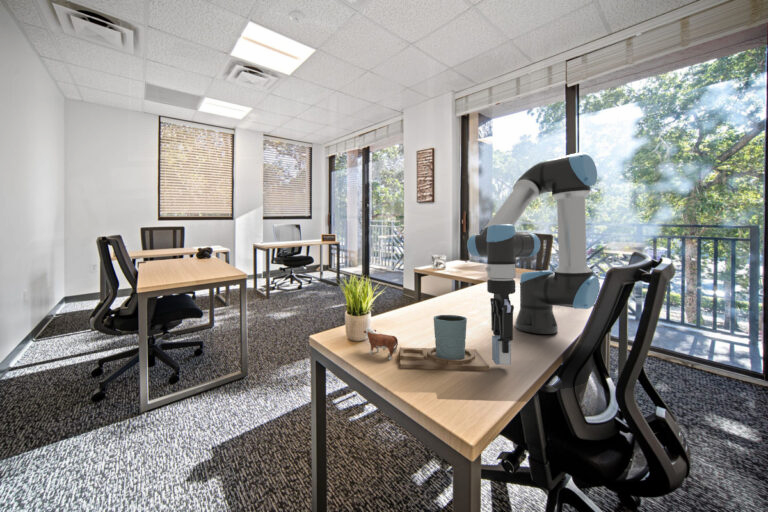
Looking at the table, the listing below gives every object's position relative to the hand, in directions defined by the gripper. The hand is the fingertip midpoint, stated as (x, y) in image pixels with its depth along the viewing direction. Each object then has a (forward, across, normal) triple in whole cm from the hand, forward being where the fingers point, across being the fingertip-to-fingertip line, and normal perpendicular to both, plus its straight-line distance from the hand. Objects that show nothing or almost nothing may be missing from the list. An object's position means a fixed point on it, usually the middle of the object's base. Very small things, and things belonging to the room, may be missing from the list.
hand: (501, 360), depth 91 cm
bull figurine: (+2, -9, -36) cm, 37 cm away
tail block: (0, 0, 0) cm, 0 cm away
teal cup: (+1, -6, -14) cm, 15 cm away
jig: (+2, -6, -17) cm, 18 cm away
